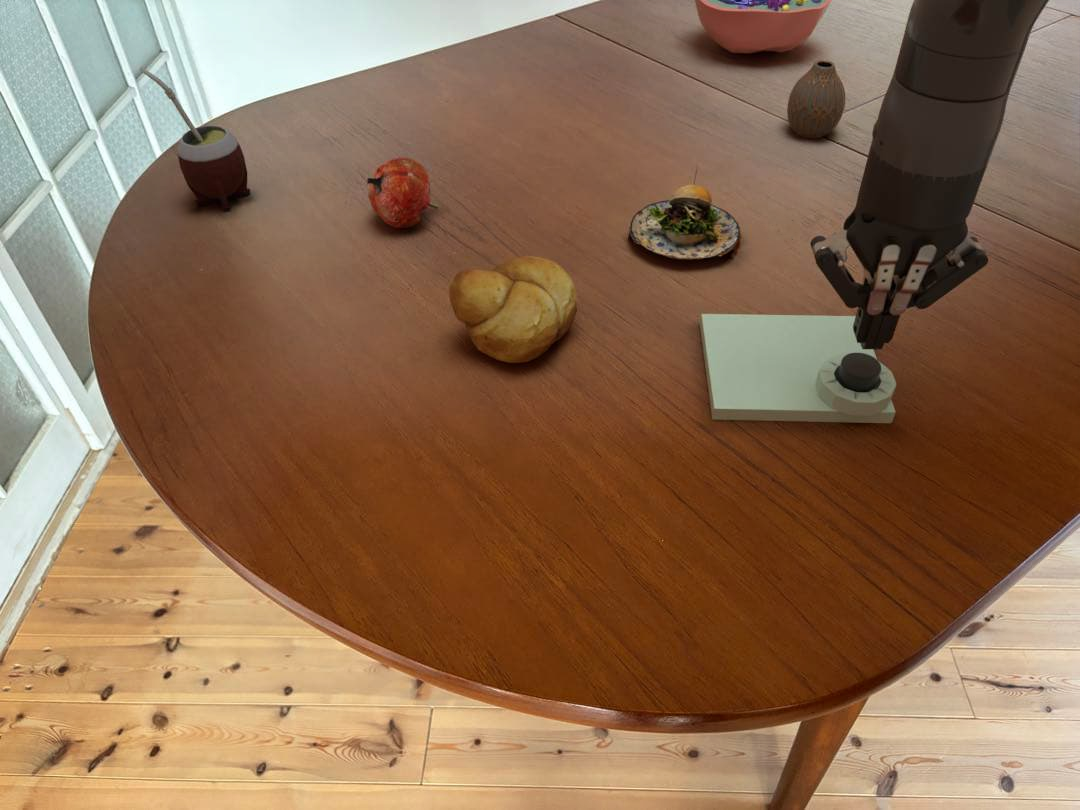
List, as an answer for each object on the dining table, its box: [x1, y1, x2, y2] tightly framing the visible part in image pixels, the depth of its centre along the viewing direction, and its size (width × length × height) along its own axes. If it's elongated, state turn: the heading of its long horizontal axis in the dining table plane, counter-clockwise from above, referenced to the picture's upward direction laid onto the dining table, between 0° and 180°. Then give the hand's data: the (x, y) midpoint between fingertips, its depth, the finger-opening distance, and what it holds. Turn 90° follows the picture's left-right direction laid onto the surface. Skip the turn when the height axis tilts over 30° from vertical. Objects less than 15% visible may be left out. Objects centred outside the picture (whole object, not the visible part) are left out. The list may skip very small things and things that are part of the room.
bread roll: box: [448, 255, 579, 364], centre depth 79 cm, size 13×10×8 cm
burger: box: [627, 166, 742, 261], centre depth 90 cm, size 12×12×8 cm
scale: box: [699, 313, 897, 424], centre depth 76 cm, size 15×14×3 cm
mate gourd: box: [139, 67, 251, 213], centre depth 96 cm, size 8×8×15 cm
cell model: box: [694, 0, 833, 54], centre depth 126 cm, size 17×20×11 cm
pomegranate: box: [366, 157, 439, 229], centre depth 95 cm, size 7×7×10 cm
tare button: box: [837, 353, 881, 393], centre depth 72 cm, size 3×3×2 cm
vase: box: [786, 59, 846, 139], centre depth 108 cm, size 7×7×9 cm
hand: (869, 342), depth 70 cm, fingers closed
